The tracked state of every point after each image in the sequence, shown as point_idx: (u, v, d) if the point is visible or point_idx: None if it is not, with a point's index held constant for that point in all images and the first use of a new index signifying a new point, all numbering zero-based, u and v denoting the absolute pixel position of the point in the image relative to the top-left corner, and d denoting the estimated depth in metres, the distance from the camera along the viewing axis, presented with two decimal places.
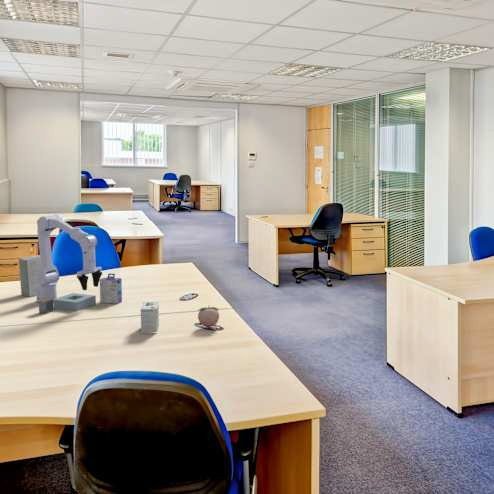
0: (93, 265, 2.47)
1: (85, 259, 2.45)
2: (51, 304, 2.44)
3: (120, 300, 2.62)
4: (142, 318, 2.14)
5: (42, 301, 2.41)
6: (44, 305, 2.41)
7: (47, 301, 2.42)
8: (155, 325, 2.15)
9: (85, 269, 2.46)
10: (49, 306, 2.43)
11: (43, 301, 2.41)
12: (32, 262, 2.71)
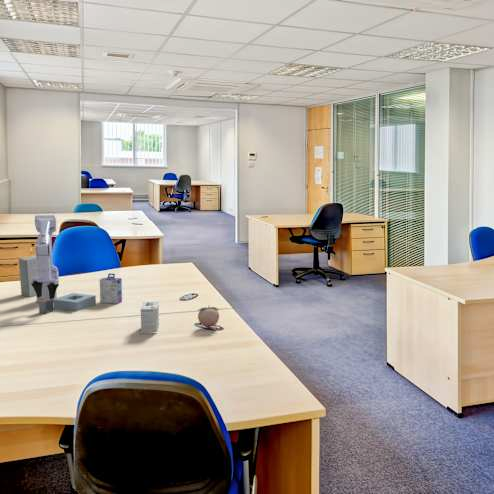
0: (39, 275, 2.39)
1: None
2: (51, 304, 2.44)
3: (120, 300, 2.62)
4: (142, 318, 2.14)
5: (42, 301, 2.41)
6: (44, 305, 2.41)
7: (47, 301, 2.42)
8: (155, 325, 2.15)
9: None
10: (49, 306, 2.43)
11: (43, 301, 2.41)
12: (32, 262, 2.71)
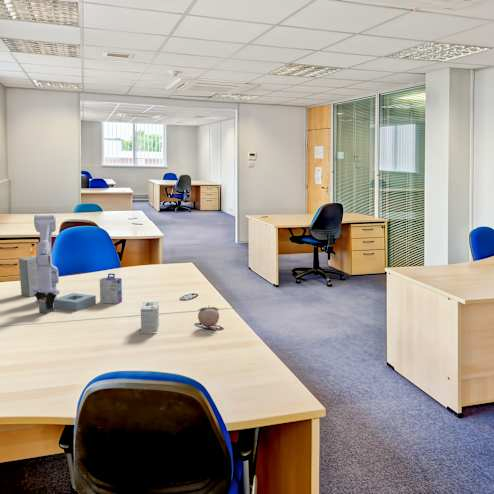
0: (40, 285, 2.40)
1: (38, 278, 2.41)
2: None
3: (120, 300, 2.62)
4: (142, 318, 2.14)
5: (42, 301, 2.41)
6: (44, 305, 2.41)
7: None
8: (155, 325, 2.15)
9: None
10: None
11: (43, 301, 2.41)
12: (32, 262, 2.71)
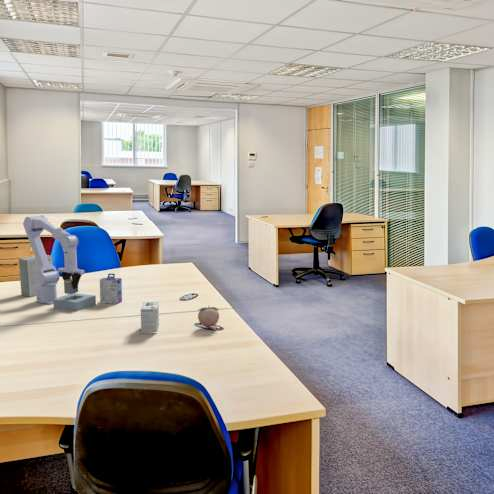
0: (66, 265, 2.49)
1: (66, 259, 2.48)
2: None
3: (120, 300, 2.62)
4: (142, 318, 2.14)
5: (67, 282, 2.49)
6: (69, 285, 2.49)
7: (72, 282, 2.50)
8: (155, 325, 2.15)
9: None
10: None
11: (68, 282, 2.49)
12: (32, 262, 2.71)
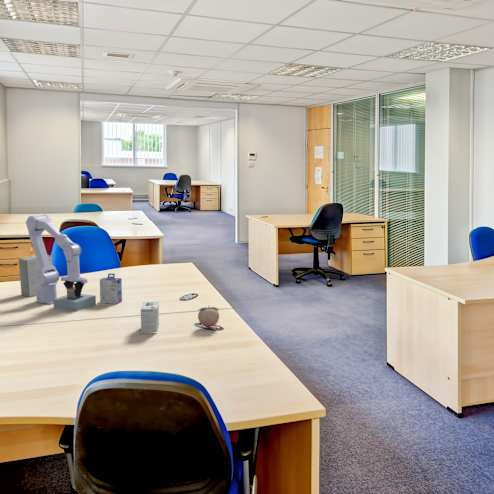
0: (69, 274, 2.50)
1: (69, 268, 2.50)
2: None
3: (120, 300, 2.62)
4: (142, 318, 2.14)
5: (70, 290, 2.51)
6: (72, 294, 2.51)
7: (75, 290, 2.52)
8: (155, 325, 2.15)
9: None
10: None
11: (71, 290, 2.51)
12: (32, 262, 2.71)
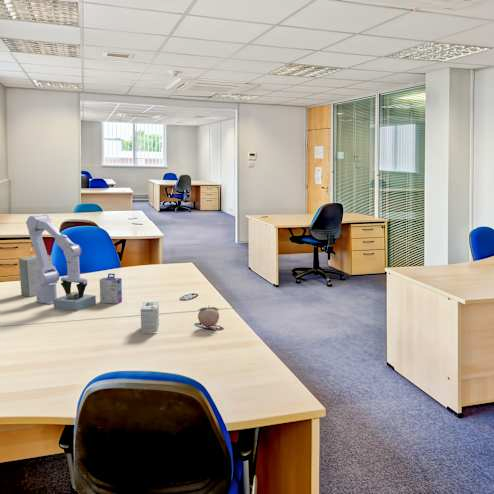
0: (69, 275, 2.50)
1: (69, 268, 2.50)
2: None
3: (120, 300, 2.62)
4: (142, 318, 2.14)
5: (70, 295, 2.52)
6: (72, 299, 2.52)
7: (75, 295, 2.52)
8: (155, 325, 2.15)
9: None
10: None
11: (71, 295, 2.51)
12: (32, 262, 2.71)
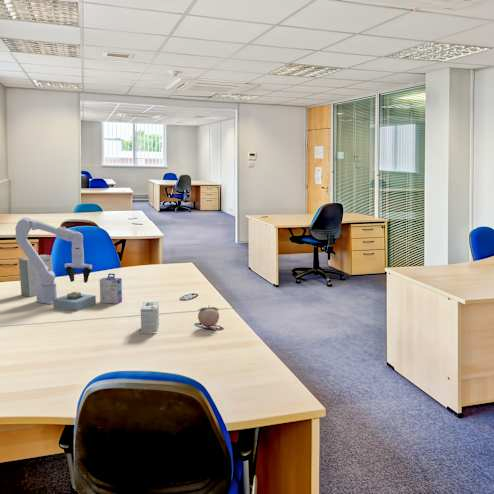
0: (74, 260, 2.61)
1: (78, 254, 2.60)
2: None
3: (120, 300, 2.62)
4: (142, 318, 2.14)
5: (70, 295, 2.52)
6: (72, 299, 2.52)
7: (75, 295, 2.52)
8: (155, 325, 2.15)
9: None
10: None
11: (71, 295, 2.51)
12: None
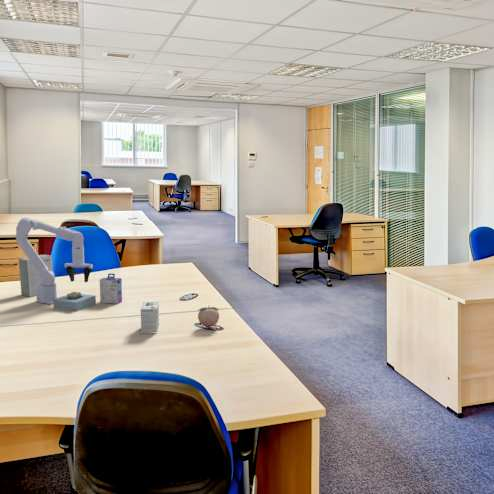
0: (75, 260, 2.62)
1: (78, 254, 2.61)
2: None
3: (120, 300, 2.62)
4: (142, 318, 2.14)
5: (70, 295, 2.52)
6: (72, 299, 2.52)
7: (75, 295, 2.52)
8: (155, 325, 2.15)
9: None
10: None
11: (71, 295, 2.51)
12: None
